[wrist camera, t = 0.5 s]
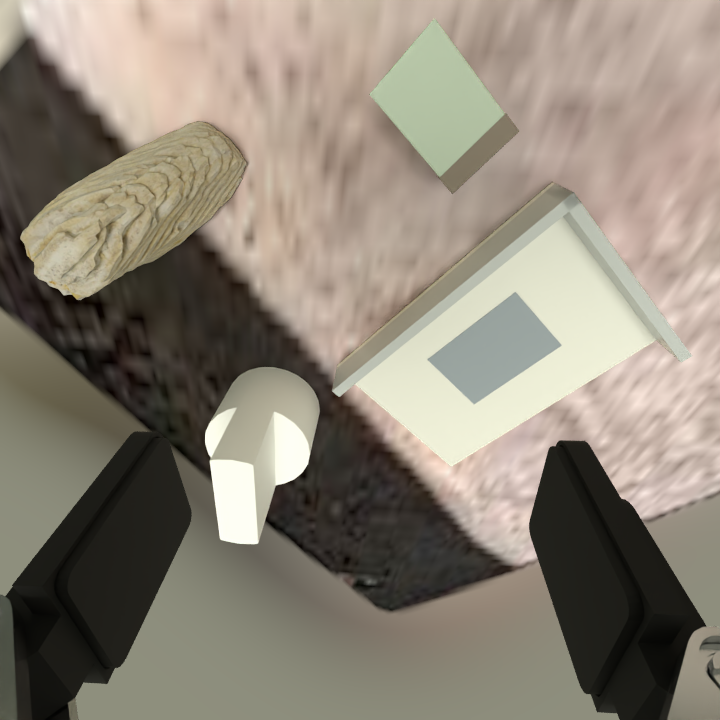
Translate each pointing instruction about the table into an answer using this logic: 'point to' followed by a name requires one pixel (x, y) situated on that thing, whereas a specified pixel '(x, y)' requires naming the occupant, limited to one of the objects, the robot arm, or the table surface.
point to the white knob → (258, 446)
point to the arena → (508, 330)
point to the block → (443, 108)
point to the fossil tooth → (133, 209)
